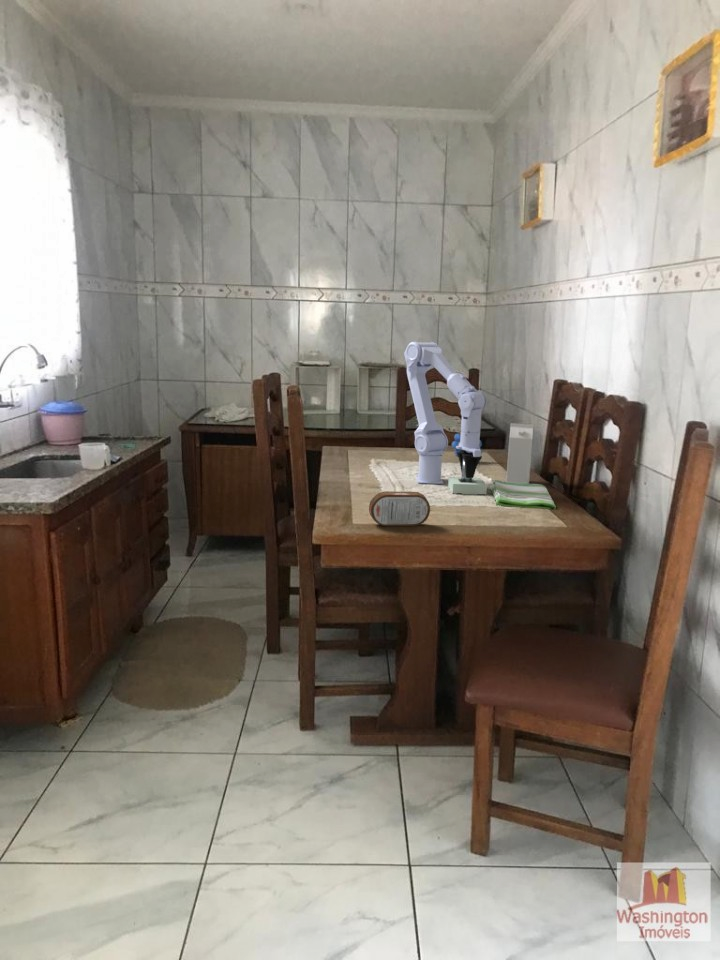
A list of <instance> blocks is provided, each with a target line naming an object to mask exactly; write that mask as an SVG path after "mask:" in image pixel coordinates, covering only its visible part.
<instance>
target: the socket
mask: <svg viewBox="0 0 720 960" xmlns="http://www.w3.org/2000/svg"><path fill="white" fill-rule="evenodd" d="M461 478H462V476H460V477H456V476H455V477H454V476H452V477H451V476H450V477H449V476H448V480H447V481H448V482H447V487H448V489H449V488H450V489H449V490H451V491H452V492H451V491H450V492H451V494H452V493H462V494H461V495H477V494H485V496H486V495H487V487H488V485H487V483H486V482H485V481H484V479H482V478H481V477H473V478H472V483H463V482H461Z"/></svg>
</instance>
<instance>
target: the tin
mask: <svg viewBox="0 0 720 960" xmlns="http://www.w3.org/2000/svg"><path fill="white" fill-rule="evenodd" d="M368 511H369V516H370V517H371V518H372V519H373V521H374V522H375V523H376V524H378V525H380V526H383V527H417V526H420V525H422V524H424V523H425V522H426V521H427V520H428V518H429V516H430V512H431V505H430V503H429V500H428V499H427V497H426V496H425V495H424V494H422V493H421V492H418V491H391V490H390V491H387V490H386V491H382V492H378V493H377V494H375V495H374V496H373V497H372V498H371V500H370V502H369V505H368Z"/></svg>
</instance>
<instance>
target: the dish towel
mask: <svg viewBox="0 0 720 960" xmlns="http://www.w3.org/2000/svg"><path fill="white" fill-rule="evenodd" d="M490 489H491V492H492V495H493V496H494V501H495V500H496V503H495V505H496V506H497V505H499V507H500V505H501V507H510V508H511V507H512V508H513V507H514V508H515V507H516V508H526V507H527V508H528V507H529V509H544V510H546V509H547V510H551V509H552V510H556V508H557V506H556V504H555V502H554V500H553V499H552V495H550V493H549V491H548V488H547V487H546V485H543V484H540V483H539V484H538V483H529V484H528V483H515V482H506V481H502V480H499V479H495V480H494V481H493V482H492V483H491V484H490Z"/></svg>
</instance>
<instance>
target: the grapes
mask: <svg viewBox="0 0 720 960" xmlns="http://www.w3.org/2000/svg"><path fill="white" fill-rule="evenodd" d="M460 437H461V433H455V434H454V437H453V438H454V441H452V443H451V446H452V449H454V450H455V451H454V455H455V457H456V458H458V456H457V453H456V452H461V451H462V449H457V448H456V446H458V445H459V443H460ZM482 445H483V443H482V440H480V441H479V447H480V450H481V455H482V454H483V451H482V448H481V447H482Z"/></svg>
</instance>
